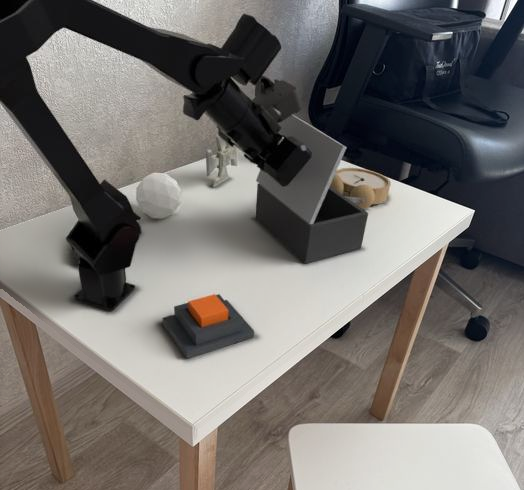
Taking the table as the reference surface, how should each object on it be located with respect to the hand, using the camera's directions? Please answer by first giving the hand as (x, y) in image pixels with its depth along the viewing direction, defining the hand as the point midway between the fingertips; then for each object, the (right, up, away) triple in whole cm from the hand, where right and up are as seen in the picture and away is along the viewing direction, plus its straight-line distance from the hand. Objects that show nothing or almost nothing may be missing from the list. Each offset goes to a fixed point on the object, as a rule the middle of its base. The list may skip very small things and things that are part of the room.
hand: (291, 174), depth 92 cm
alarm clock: (+14, +2, +22) cm, 26 cm away
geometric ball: (-23, -4, +11) cm, 26 cm away
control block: (-12, -26, -13) cm, 31 cm away
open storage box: (+3, -8, +10) cm, 13 cm away
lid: (+1, +1, 0) cm, 2 cm away
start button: (-12, -24, -15) cm, 30 cm away
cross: (-13, +5, +23) cm, 27 cm away
